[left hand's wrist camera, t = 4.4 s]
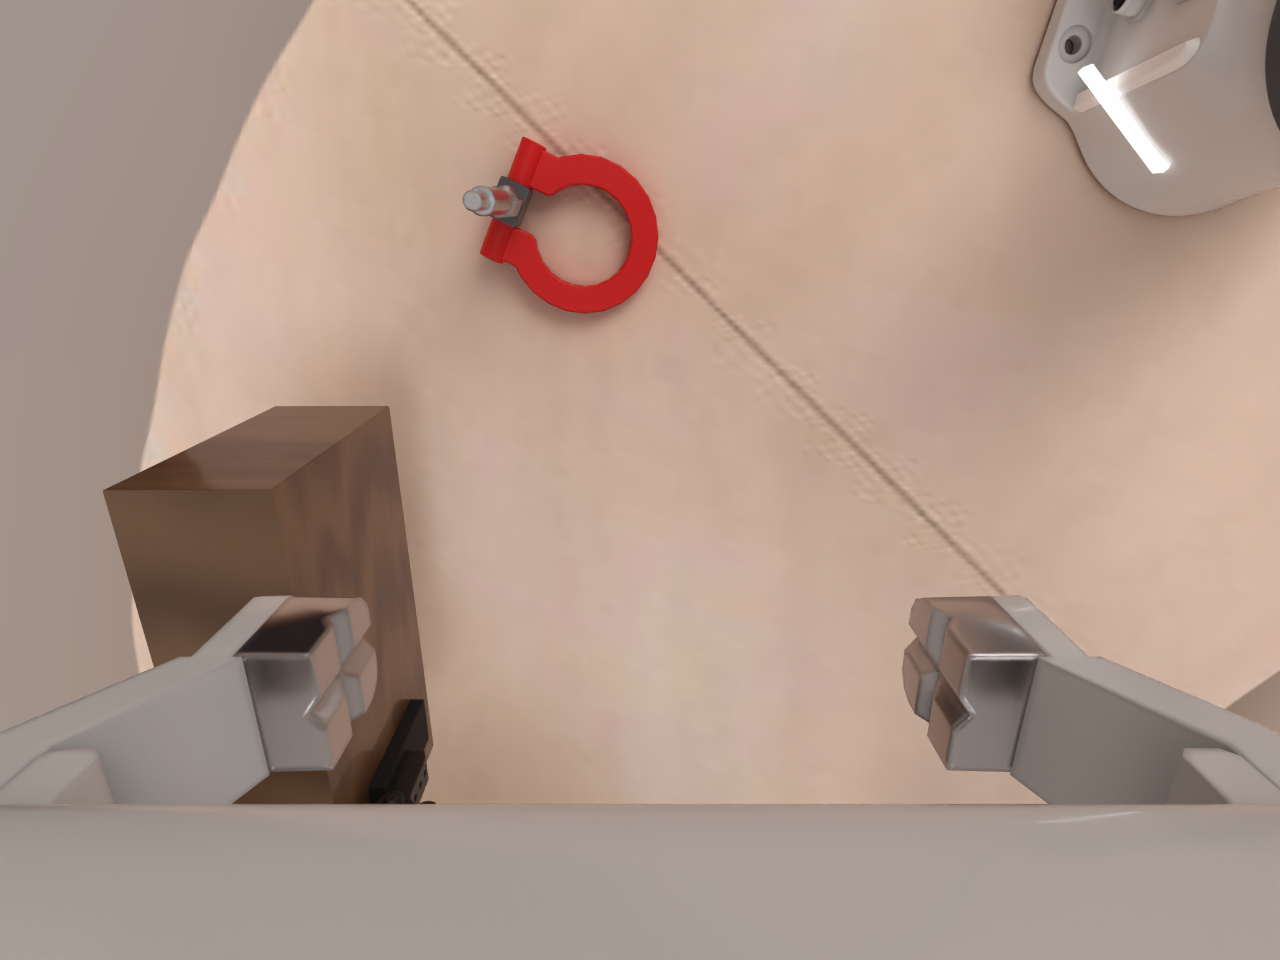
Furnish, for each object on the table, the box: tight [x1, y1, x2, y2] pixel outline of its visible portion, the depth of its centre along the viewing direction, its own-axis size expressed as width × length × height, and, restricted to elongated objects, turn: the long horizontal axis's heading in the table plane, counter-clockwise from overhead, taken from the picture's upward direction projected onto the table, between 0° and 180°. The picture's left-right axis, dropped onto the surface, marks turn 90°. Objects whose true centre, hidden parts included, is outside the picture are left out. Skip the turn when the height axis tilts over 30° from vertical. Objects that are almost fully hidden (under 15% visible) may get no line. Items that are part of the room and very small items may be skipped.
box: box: [103, 406, 433, 804], centre depth 34 cm, size 22×6×12 cm, turn 0°
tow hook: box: [463, 137, 658, 313], centre depth 33 cm, size 8×13×9 cm
